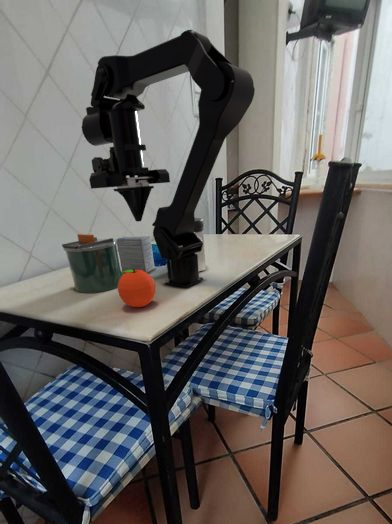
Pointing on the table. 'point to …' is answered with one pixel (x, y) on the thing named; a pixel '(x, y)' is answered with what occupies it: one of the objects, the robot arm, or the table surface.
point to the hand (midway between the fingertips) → (138, 221)
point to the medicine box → (135, 253)
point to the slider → (81, 241)
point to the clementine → (136, 288)
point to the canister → (94, 265)
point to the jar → (200, 234)
